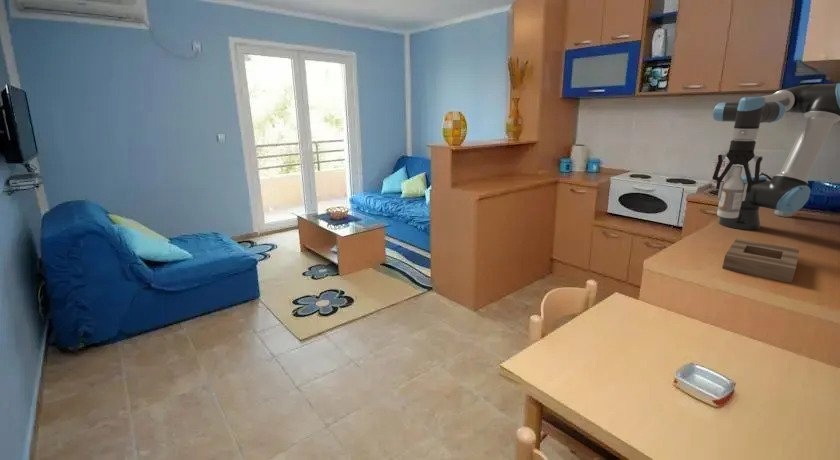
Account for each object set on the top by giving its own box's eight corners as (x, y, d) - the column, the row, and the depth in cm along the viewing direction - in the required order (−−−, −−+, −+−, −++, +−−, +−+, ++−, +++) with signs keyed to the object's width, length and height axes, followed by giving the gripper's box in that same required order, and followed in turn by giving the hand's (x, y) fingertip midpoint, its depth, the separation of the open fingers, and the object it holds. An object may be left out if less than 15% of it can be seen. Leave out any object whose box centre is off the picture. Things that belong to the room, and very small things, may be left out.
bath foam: (713, 213, 165) (723, 164, 159) (733, 214, 164) (743, 165, 158) (721, 218, 159) (731, 167, 153) (741, 219, 157) (753, 168, 151)
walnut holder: (733, 250, 156) (736, 238, 154) (795, 262, 144) (799, 249, 142) (722, 268, 139) (725, 254, 138) (791, 283, 127) (795, 268, 126)
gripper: (710, 139, 156) (699, 197, 163) (777, 141, 143) (762, 204, 150) (713, 138, 161) (703, 194, 168) (779, 140, 148) (764, 200, 155)
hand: (730, 199), depth 159 cm, fingers closed on bath foam, 7 cm apart
